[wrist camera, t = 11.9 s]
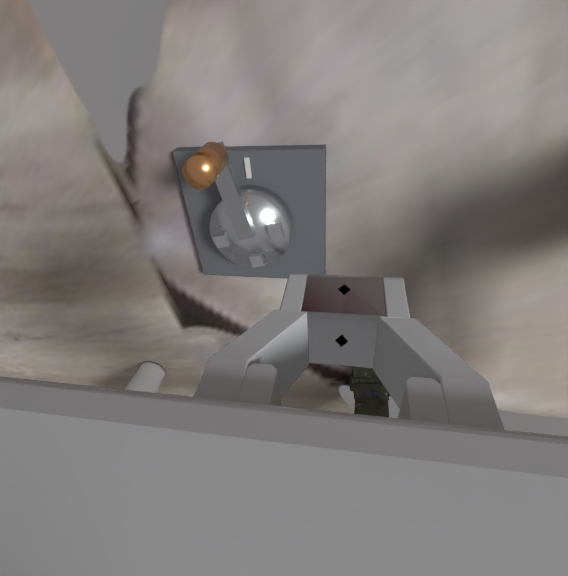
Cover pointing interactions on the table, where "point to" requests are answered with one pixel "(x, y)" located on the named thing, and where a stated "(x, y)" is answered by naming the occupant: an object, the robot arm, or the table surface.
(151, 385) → the drinking glass
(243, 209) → the lever
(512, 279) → the table surface
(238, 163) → the housing plate
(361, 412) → the mechanical leg
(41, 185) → the table surface
